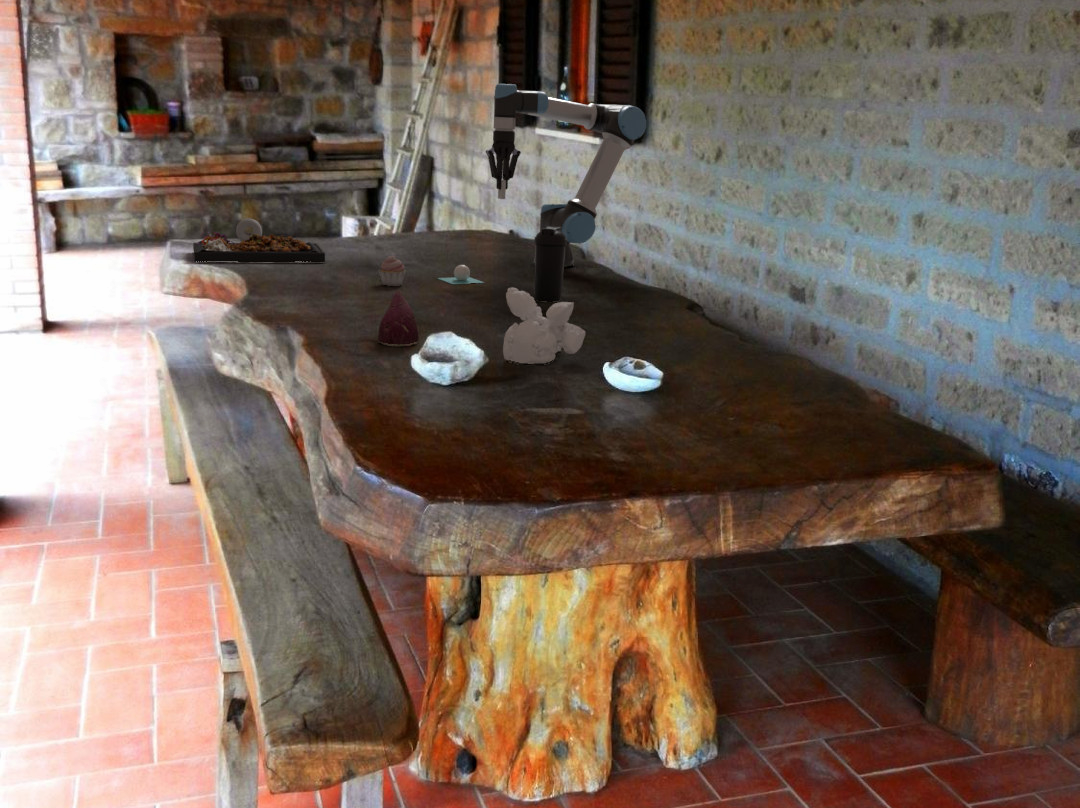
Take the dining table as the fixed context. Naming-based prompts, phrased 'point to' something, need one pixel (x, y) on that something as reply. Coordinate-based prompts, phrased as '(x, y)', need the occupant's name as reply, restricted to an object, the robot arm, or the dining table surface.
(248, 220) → the donut
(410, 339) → the vegetable
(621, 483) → the dining table surface
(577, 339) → the grey lumpy lobed block
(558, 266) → the water bottle
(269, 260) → the food platter
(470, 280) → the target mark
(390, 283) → the cupcake
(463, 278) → the ball
